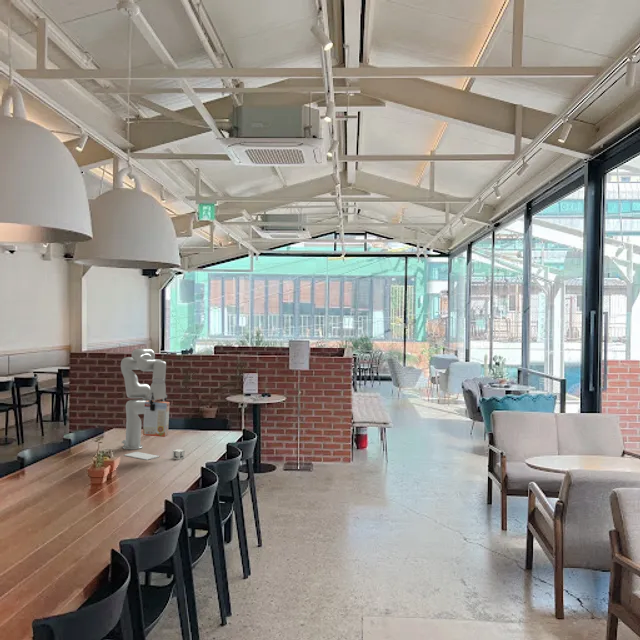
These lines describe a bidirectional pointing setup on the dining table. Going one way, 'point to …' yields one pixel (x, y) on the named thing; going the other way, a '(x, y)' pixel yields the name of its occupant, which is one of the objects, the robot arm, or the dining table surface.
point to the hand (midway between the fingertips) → (157, 409)
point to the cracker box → (156, 419)
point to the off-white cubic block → (178, 454)
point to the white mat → (141, 455)
